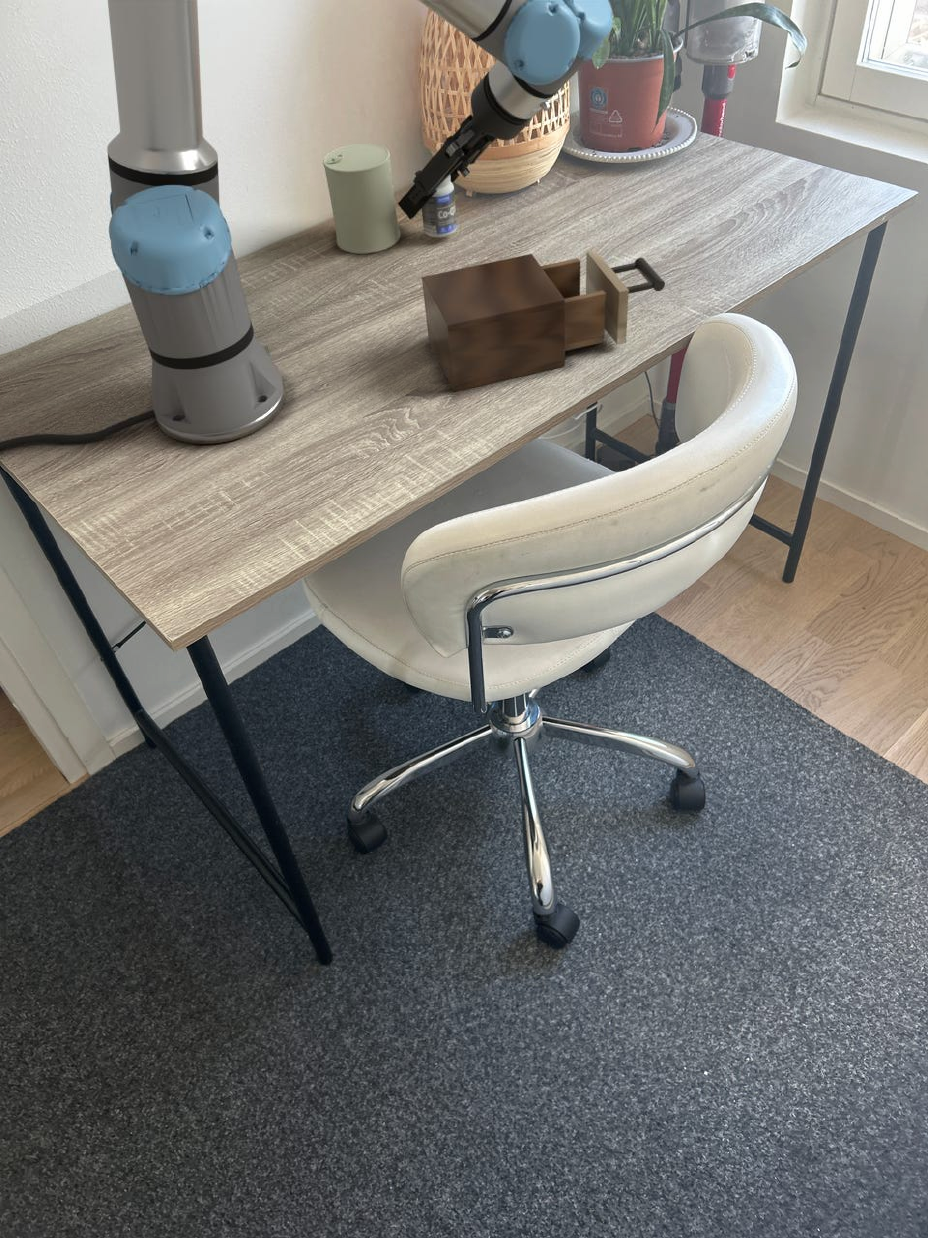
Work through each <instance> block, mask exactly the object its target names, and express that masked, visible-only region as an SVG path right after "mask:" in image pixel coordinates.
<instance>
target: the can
mask: <svg viewBox="0 0 928 1238" xmlns="http://www.w3.org/2000/svg"><path fill="white" fill-rule="evenodd" d="M390 156H391V155H390V151H389V149H388V148H386V147H385V146H383V145H381V144H375V143H369V142H367V143H366V142H365V143H364V142H363V143H352V144H347V145H343V146H340V147H337V148H335V149H333V150H331V151H329V152H328V153H326V154H325V156H324V157H323V160H322V164H323V168H324V173H325V177H326V183H327V188H328V193H329V194H328V195H329V198H330V204H331V211H332V217H333V221H334V229H335V234H336V244H337V246H338V248H340V250H342V251H344V252H347V253H351V254H356V255H357V254H358V255H359V254H360V255H365V254H366V255H368V254H373V253H374V254H376V253H378V252H381V251H385V250H387V249H389V248H392V247H393V246H395V245H396V244H397V243H398V242H399V241H400V238H401V231H400V228H399V221H398V215H397V214H398V213H397V207H396V200H395V191H394V186H393V176H392V167H391V159H390V158H391V157H390Z"/></svg>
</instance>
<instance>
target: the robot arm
mask: <svg viewBox="0 0 928 1238" xmlns="http://www.w3.org/2000/svg"><path fill="white" fill-rule="evenodd" d="M417 1H418V2H419V3H421V4H422V5H424V6H425V7H426V8H427V9H429V10H430V11H432V12H433V13H434V14H435V15H436V16H438V17H440V18H441V19H442V20H443V21H445V22H446V23H448V24H449V25H450V26H452V27H453V28H455V29H456V30H457V31H459V32H460V33H462V34H463V35H464V36H465V37H467V38H468V39H470V40H471V42H472V43H474V44H476V45H477V46H478V47H479V48H481V49H482V50H484V51H485V52H486V53H488V54H489V55H491V56H492V57H493V58H495V59H496V61H495V62H494V63H493V64H492V66H491V67H490V69H489V71H487V73H486V74H485V75H484V76H483V78H482V79H481V80H480V81H479V82H478V83H477V85H476V86H475V87H474V88H473V90H472V91H471V93H470V109H471V114H469V115H468V116H466V118H464V120H463V121H462V122H461V123H460V127H459V128H458V129H457V131H455V132H454V134H453V135H450V136H448V137H446V139H445V141H444V142H443V144H442V145H441V146H440V147H439V149H438V150H437V152H436V153H435V154H434V155H433V156H432V157H431V159H430V160H429V161H428V162H427V164H425V166H424V167H423V168H422V169H423V170H422V169H419V170H418V171H417V170H416V172H414V175H415V177H414V178H413V180H412V183H413V185H412V186H411V187H410V189H408V191H407V192H406V193H405V194H404V196H402V198H401V199H400V200H399V201H398V202H397V205H398V206H399V207H400V209H401V210H402V211H403V213H404V214H405V215H406V217H407V218H408V219H409V220H412V219H413V218H415V217H416V215H417V214H418V213H419V212H420V211H422V207H423V206H424V205H425V204H426V203H427V202H428V201H429V199H430V198H431V197H432V196H433V195H434V194H435V193H436V192H437V190H436V189H437V188H438V187H439V185H440V184H441V183H442V182H443V181H444V180H445V179H446V178H447V177H448V176H449V175H450V176H451V180H450V181H451V182H452V183H453V184H454V183H455V181H456V180H457V179H458V178H459V177H460V174H461V175H462V177H463V178H465V177H467V176H468V175H469V174H471V171H470V170H469V168H468V167H469V165H470V166H471V165H474V164H475V163H476V161H477V160H478V159H479V158H480V157H481V155H482V154H483V153H484V152H486V150H487V149H488V148H489V147H490V146H491V145H492V143H493V142H494V141H496V140H500V141H511V140H513V139H515V138H517V136H519V134H521V132H522V131H523V130H524V129H525V128H526V127H527V126H528V124H530V123H531V121H532V120H533V118H534V117H535V116H536V115H537V114H538V113H539V112H540V111H541V110H543V111H544V112H548V111H549V110H550V108H551V104H550V103H549V101H550V100H551V99H552V98H553V97H554V96H555V95H556V94H557V93H558V92H559V91H560V90H561V89H562V88H563V87H564V86H565V85H566V84H567V82H569V80H571V78H572V77H573V76H575V74H577V72H578V71H579V70H580V69H581V68H582V67H583V66H584V65H585V64H586V63H587V62H589V61H590V60H591V59H592V57H593V56H594V54H595V53H596V52H597V51H598V49H599V48H600V47H601V46H602V45H603V44H604V42H605V40H606V39H607V37H608V36H609V35H610V33H611V31H612V28H613V23H614V22H613V21H614V20H613V11H612V7H611V4H610V1H609V0H417ZM107 8H108V18H109V29H110V39H111V50H112V60H113V68H114V69H113V70H114V83H115V92H116V100H117V101H116V102H117V112H118V122H119V133H118V134H117V135H116V136H115V137H114V138H113V139H112V140H111V141H110V142H109V143H108V145H107V147H106V149H107V150H106V151H107V161H108V171H109V180H110V190H111V192H110V195H109V206H110V212H111V213H110V214H111V217H110V220H109V224H108V236H109V241H110V248H111V254H112V257H113V259H114V262H115V264H116V266H117V268H118V269H119V271H120V273H121V275H122V279H123V281H124V285H125V287H126V289H127V293H128V295H129V297H130V301H131V304H132V307H133V309H134V312H135V315H136V317H137V318H136V319H137V320H138V324H139V326H140V329H141V332H142V335H143V338H144V340H145V343H146V346H147V348H148V353H149V355H150V359H151V361H152V362H151V406H152V409H150V410H147V411H145V412H142V413H140V414H137V415H134V416H132V417H129V418H127V419H124V420H122V421H121V420H120V421H118V422H117V423H114V424H113V425H110V426H108V427H106V428H104V429H100V430H98V431H94V432H88V433H82V434H81V433H80V434H62V433H61V434H60V433H59V434H57V433H40V434H29V435H24V436H17V437H14V438H9V439H5V440H1V441H0V451H3V450H7V449H10V448H14V447H19V446H24V445H30V444H37V443H38V444H39V443H58V444H61V443H63V444H64V443H65V444H79V443H80V444H81V443H89V442H94V441H99V440H102V439H105V438H108V437H110V436H113V435H115V434H116V433H120V432H121V431H123V430H125V429H128V428H130V427H133V426H136V425H138V424H141V423H145V422H146V421H150V420H152V419H154V418H155V420H156V422H157V425H158V427H159V429H160V430H161V431H162V432H163V433H164V434H165V435H166V436H168V437H170V438H172V439H174V440H176V441H179V442H184V443H188V444H196V445H211V444H220V443H221V444H222V443H226V442H231V441H234V440H238V439H241V438H244V437H247V436H249V435H251V434H253V433H255V432H258V431H259V430H261V429H262V428H264V427H265V426H267V425H268V424H270V423H271V422H272V421H273V420H274V419H275V418H276V417H277V416H278V415H279V414H280V413H281V412H282V410H283V408H284V406H285V404H286V400H287V390H286V386H285V381H284V379H283V376H282V374H281V372H280V370H279V369H278V367H277V365H276V364H275V362H274V361H273V359H272V358H271V354H270V349H269V346H268V345H263V344H262V343H261V342H260V341H261V340H259V339H258V337H257V335H256V334H255V330H254V326H253V322H252V318H251V314H250V311H249V307H248V303H247V297H246V295H245V291H244V287H243V284H242V283H243V282H242V280H241V276H240V275H241V274H240V272H239V268H238V265H237V261H236V257H235V252H234V250H233V245H232V235H231V230H230V227H229V224H228V221H227V220H226V217H224V214H223V211H222V208H221V206H220V205H221V203H220V179H219V178H220V177H219V154H218V151H216V149H215V147H213V146H212V144H210V142H209V141H208V140H206V139H205V138H204V131H203V130H204V129H203V127H204V126H203V107H202V106H203V105H202V81H201V79H202V78H201V58H200V57H201V56H200V35H199V34H200V33H199V32H200V31H199V9H198V8H199V7H198V0H107Z"/></svg>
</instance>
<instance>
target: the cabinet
mask: <svg viewBox="0 0 928 1238" xmlns="http://www.w3.org/2000/svg"><path fill="white" fill-rule="evenodd" d="M541 266H542V265H541V264H539V262H538V261H537V259H536V257H534V255H533V254H532V253H529V254H523V255H519V256H514V257H509V258H505V259H500V260H496V261H491V262H487V263H481V264H476V265H472V266H468V267H463V268H459V269H453V270H449V271H443V272H440V273H434V274H430V275H426V276H421V283H422V293H423V301H424V309H425V318H426V319H425V320H426V327H427V328H426V329H427V336H428V342H429V345H430V346H431V348H432V350H433V352H434V354H435V356H436V359H437V361H438V363H439V364H440V366H441V369H442V370H443V372H444V374H445V376H446V379H447V380H448V383H449V385H450V387H451V389H452V391H453V393H454V392H455V393H456V392H460V391H464V390H469V389H472V388H477V387H482V386H485V385H489V384H494V383H499V382H503V381H507V380H511V379H515V378H520V377H525V376H529V375H534V374H537V373H542V372H547V371H551V370H555V369H560V368H564V367H565V366H566V351H565V299H564V298H563V296H562V295H561V294H560V292H559V291H558V290H557V288H556V287H555V285H554V284H553V283H552V281H551V280H550V278H549V277H548V276H547V274H546V273H545V272H544V270H543V269H542V267H541Z"/></svg>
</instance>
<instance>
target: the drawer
mask: <svg viewBox="0 0 928 1238" xmlns="http://www.w3.org/2000/svg"><path fill="white" fill-rule="evenodd" d="M585 255H586V259H585V260H586V261H585V264H586V265H585V293H584V294H581V260H580V259H579V257H577V258H573V259H567V260H563V261H559V262H553V263H549V264H545V265H540V266H541V267H542V269H543V270H544V272H545V273H546V274H547V276H548V277H549V278H550V280H551V281H552V283H553V284H554V285H555V287H556V288H557V290H558V291H559V292H560V294H561V295H562V296H563V298H564V299H565V352H566V351H571V350H576V349H579V348H584V347H588V346H593V345H598V344H602V343H604V342H605V331H606V333H608V335H609V336H610V337H611V339H612V340H613V342H614V343H615V344H616V345H617V346H618V345H623V344H626V343H627V335H628V330H627V329H628V314H629V313H628V312H629V295H630V294H634V293H638V292H644V291H649V290H652V289H653V290H654V291H656V292H661V291H662V290H664V288H665V286H666V281H665V280H664V279H663V278H662V277H661V276H660V274H658V273H657V271H656V270H654V267H652V266H651V265H650V264H649V262H647V260H646V259H645V258H644V257H638V258H637V259H635V261H634V262H631V263H627V264H622V265H618V266H617V265H616V266H613V267H610V266H609V264H608V263H607V261H605V259H604V258H603V257H602V256H601V254H600V253H599V252H598V251H597V250H596V249H594V250H589V251H586V254H585ZM633 270H637V272H639V274H640V275H641V276H642V278H644V280H645V281H646V282H644V283H640V284H635V285H631V286H626V284H625V283H624V282H623V281H622V280H621V279H620V277H619V276H618V275H617V274H621V273H626V272H630V271H633Z"/></svg>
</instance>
